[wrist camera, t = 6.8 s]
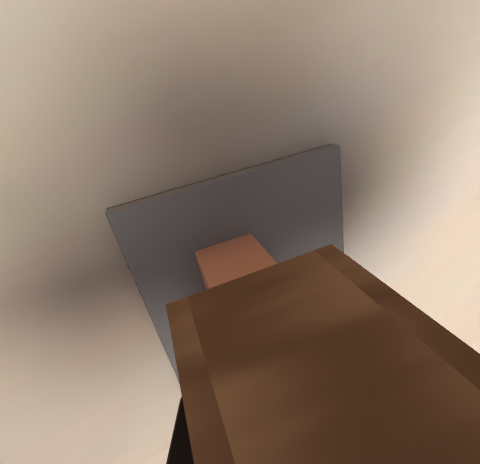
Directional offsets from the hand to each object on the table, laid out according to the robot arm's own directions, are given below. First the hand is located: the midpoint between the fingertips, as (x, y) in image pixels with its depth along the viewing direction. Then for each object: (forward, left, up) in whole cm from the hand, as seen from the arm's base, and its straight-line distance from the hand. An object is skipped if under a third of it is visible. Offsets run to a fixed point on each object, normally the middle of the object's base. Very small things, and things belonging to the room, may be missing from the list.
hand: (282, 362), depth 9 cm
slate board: (+1, -9, -6) cm, 11 cm away
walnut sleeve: (0, 0, -1) cm, 1 cm away
